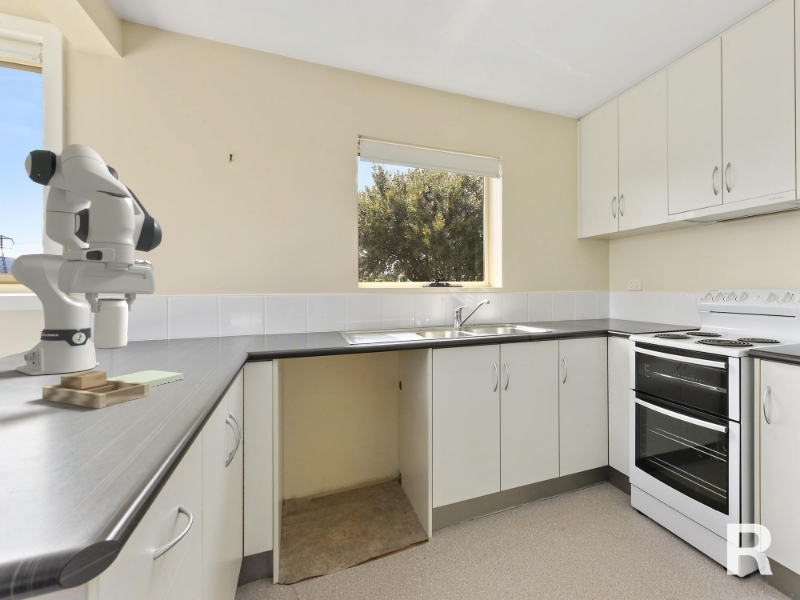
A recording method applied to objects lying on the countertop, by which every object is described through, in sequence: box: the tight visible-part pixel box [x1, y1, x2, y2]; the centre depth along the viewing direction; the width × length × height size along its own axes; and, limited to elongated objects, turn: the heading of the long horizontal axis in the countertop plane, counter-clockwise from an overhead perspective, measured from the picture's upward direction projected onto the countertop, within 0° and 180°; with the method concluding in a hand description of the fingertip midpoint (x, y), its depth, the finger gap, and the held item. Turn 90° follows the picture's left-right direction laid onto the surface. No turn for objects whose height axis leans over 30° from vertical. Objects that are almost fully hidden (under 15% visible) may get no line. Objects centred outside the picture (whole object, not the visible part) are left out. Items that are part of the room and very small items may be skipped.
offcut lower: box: [74, 383, 108, 391], centre depth 89 cm, size 6×7×3 cm
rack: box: [41, 378, 150, 409], centre depth 88 cm, size 20×11×3 cm, turn 73°
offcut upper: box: [60, 370, 107, 389], centre depth 89 cm, size 6×7×3 cm
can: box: [93, 297, 129, 350], centre depth 86 cm, size 6×6×12 cm
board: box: [106, 369, 185, 388], centre depth 103 cm, size 14×14×2 cm
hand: (111, 312), depth 86 cm, fingers closed on can, 5 cm apart
